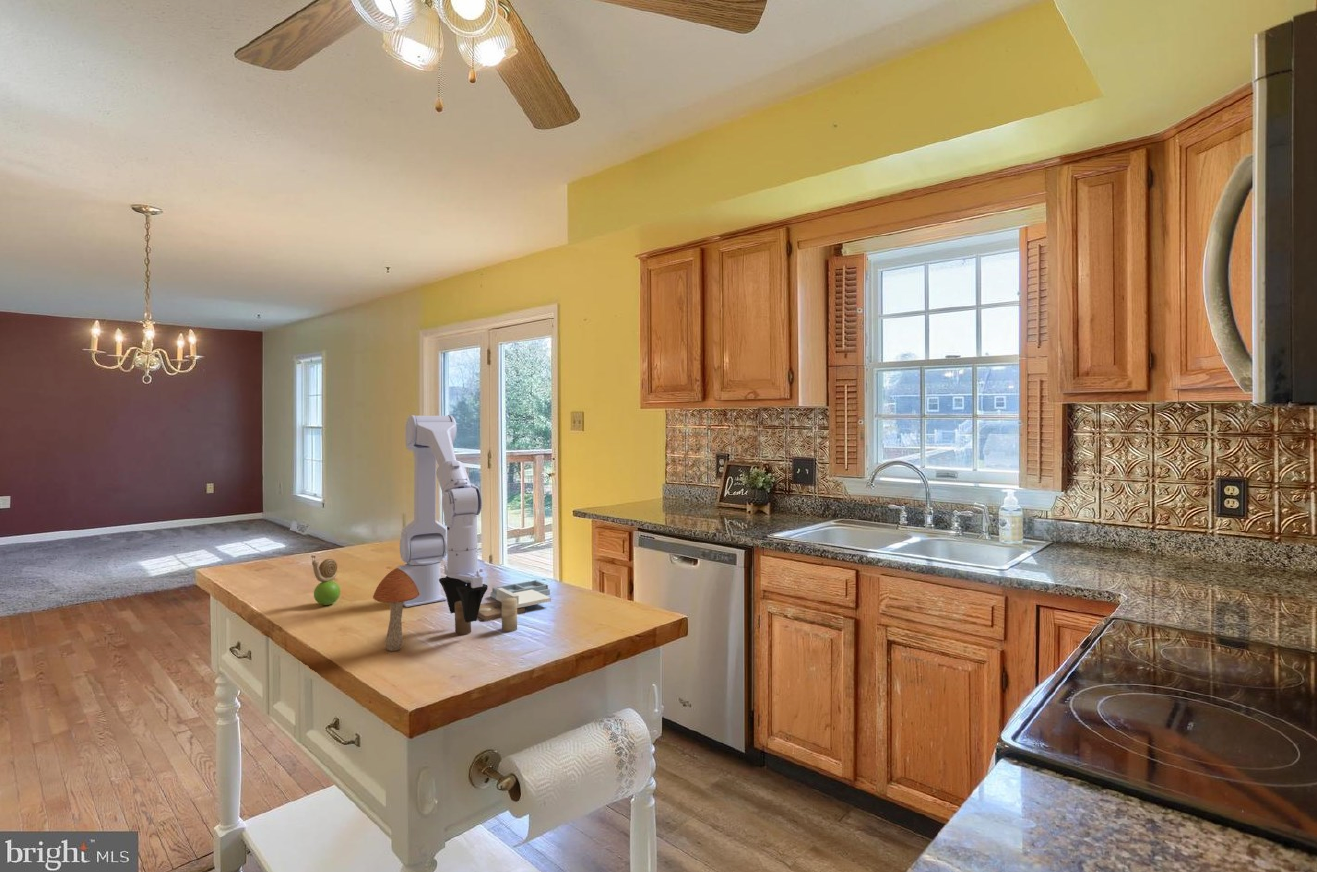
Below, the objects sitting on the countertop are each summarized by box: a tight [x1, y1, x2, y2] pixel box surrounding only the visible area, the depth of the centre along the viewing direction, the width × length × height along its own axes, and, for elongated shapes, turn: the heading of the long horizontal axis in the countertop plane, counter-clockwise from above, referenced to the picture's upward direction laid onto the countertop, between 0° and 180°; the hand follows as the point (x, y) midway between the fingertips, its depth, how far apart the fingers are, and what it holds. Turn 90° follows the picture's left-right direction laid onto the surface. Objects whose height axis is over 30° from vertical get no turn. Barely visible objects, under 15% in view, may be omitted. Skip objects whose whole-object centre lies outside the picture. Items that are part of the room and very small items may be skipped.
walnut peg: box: [454, 601, 472, 636], centre depth 128 cm, size 3×3×6 cm
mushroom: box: [372, 567, 419, 652], centre depth 119 cm, size 8×8×15 cm
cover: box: [495, 588, 552, 608], centre depth 145 cm, size 9×9×3 cm
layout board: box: [477, 600, 526, 622], centre depth 141 cm, size 9×9×1 cm
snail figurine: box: [311, 554, 342, 606], centre depth 147 cm, size 5×6×12 cm
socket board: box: [490, 579, 551, 600], centre depth 154 cm, size 12×7×2 cm, turn 129°
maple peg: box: [501, 598, 518, 633], centre depth 130 cm, size 3×3×6 cm
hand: (463, 616), depth 128 cm, fingers open, 7 cm apart
